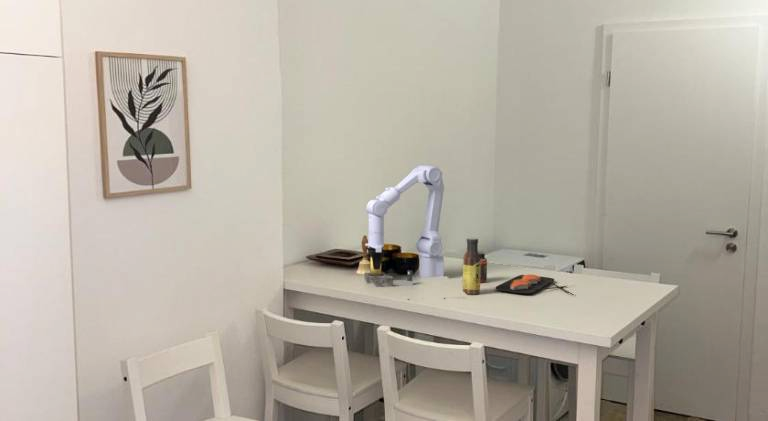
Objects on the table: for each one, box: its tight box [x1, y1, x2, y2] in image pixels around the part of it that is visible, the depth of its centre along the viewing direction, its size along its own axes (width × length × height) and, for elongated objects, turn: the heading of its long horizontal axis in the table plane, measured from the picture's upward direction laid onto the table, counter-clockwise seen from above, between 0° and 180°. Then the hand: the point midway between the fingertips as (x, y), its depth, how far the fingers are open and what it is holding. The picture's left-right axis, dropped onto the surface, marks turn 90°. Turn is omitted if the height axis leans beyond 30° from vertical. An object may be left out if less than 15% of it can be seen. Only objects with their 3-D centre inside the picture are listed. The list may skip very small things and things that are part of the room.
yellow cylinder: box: [370, 257, 382, 275], centre depth 282 cm, size 4×4×7 cm
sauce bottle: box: [462, 237, 481, 296], centre depth 269 cm, size 7×6×20 cm
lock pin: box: [393, 270, 414, 286], centre depth 277 cm, size 8×2×5 cm, turn 99°
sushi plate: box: [495, 273, 575, 296], centre depth 278 cm, size 29×30×4 cm
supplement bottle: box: [478, 251, 488, 284], centre depth 289 cm, size 6×6×11 cm
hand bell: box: [355, 235, 371, 275], centre depth 298 cm, size 8×8×16 cm
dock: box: [363, 271, 394, 288], centre depth 282 cm, size 17×17×4 cm
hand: (375, 267), depth 282 cm, fingers closed on yellow cylinder, 4 cm apart
